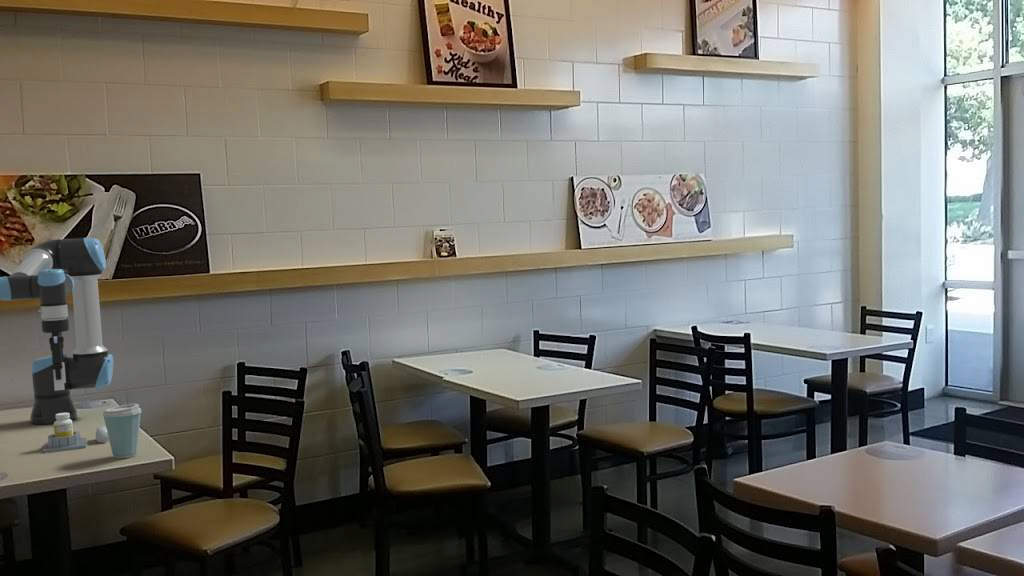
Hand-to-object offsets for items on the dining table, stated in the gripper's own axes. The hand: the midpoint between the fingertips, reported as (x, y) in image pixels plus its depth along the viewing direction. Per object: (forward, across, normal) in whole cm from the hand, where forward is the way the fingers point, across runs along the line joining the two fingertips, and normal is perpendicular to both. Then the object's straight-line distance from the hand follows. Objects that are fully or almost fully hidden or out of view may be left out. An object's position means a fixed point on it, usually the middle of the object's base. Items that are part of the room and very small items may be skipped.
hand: (60, 386), depth 297 cm
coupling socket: (+19, 0, 0) cm, 19 cm away
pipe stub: (+19, -2, +11) cm, 22 cm away
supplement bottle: (+18, 0, 0) cm, 18 cm away
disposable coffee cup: (+19, +26, +17) cm, 36 cm away
